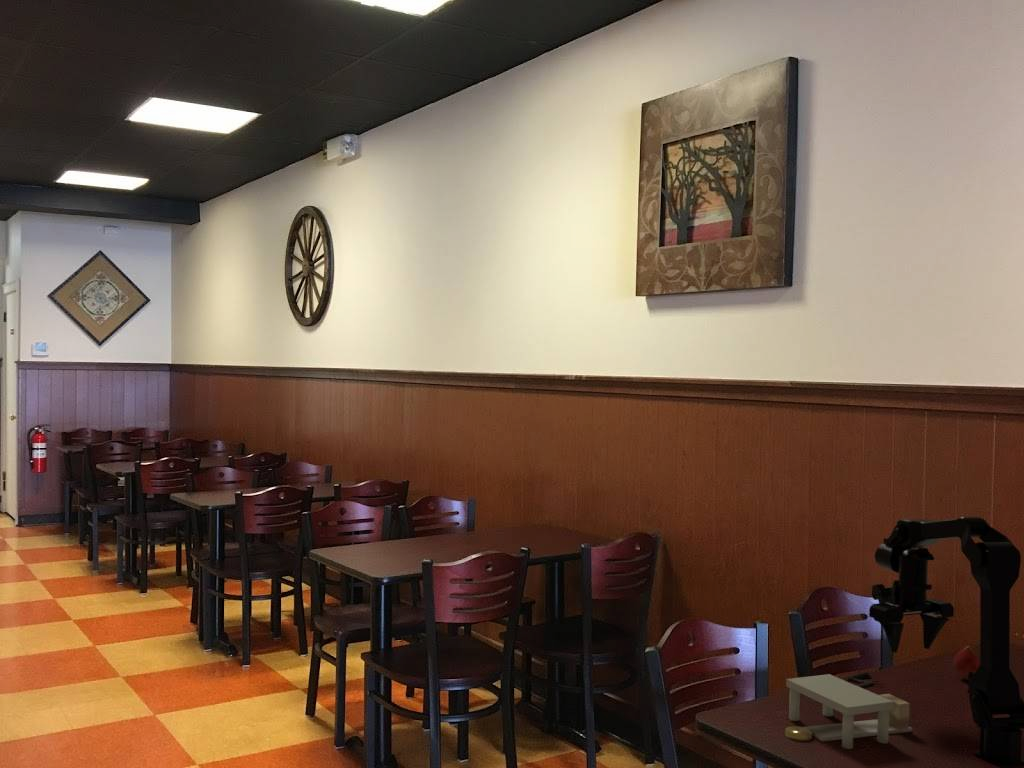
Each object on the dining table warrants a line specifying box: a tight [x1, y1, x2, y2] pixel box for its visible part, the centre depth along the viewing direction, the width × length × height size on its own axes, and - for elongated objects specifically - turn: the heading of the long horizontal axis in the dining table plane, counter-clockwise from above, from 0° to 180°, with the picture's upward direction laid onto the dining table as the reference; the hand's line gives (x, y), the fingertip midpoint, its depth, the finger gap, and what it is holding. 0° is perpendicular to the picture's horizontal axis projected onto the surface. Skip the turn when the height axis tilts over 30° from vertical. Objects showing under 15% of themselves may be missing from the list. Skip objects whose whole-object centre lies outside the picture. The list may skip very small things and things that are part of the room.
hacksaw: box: [842, 671, 884, 688], centre depth 220 cm, size 24×10×2 cm, turn 123°
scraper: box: [803, 693, 913, 742], centre depth 193 cm, size 6×21×6 cm, turn 108°
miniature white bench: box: [785, 673, 893, 750], centre depth 193 cm, size 18×11×8 cm, turn 22°
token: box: [784, 725, 813, 742], centre depth 190 cm, size 5×5×1 cm
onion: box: [952, 645, 980, 680], centre depth 229 cm, size 6×6×8 cm
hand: (910, 650), depth 208 cm, fingers open, 9 cm apart
